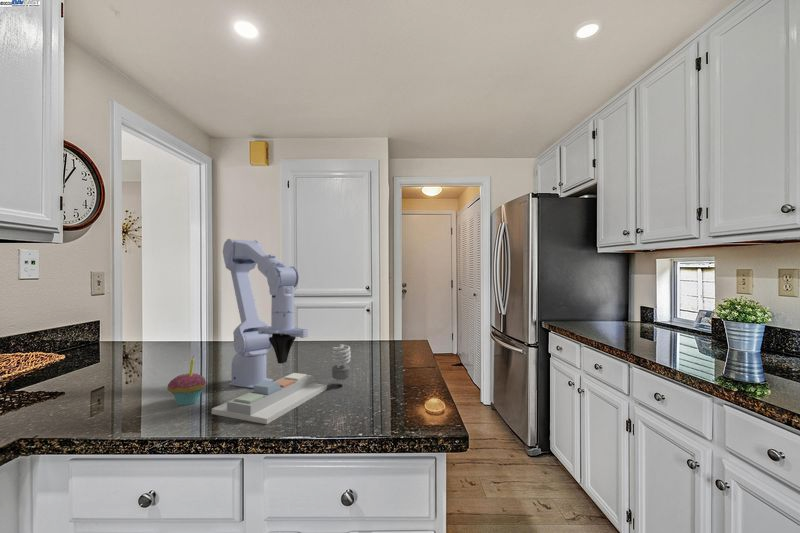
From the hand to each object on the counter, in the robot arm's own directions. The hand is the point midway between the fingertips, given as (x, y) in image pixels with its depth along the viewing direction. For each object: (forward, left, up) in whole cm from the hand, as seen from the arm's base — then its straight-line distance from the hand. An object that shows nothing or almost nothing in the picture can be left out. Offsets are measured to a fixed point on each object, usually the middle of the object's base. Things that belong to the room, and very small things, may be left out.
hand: (282, 362), depth 98 cm
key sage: (0, -12, -7) cm, 14 cm away
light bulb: (+10, +14, -9) cm, 20 cm away
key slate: (0, -6, -6) cm, 9 cm away
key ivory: (0, +6, -7) cm, 10 cm away
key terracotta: (0, 0, -7) cm, 7 cm away
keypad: (0, -3, -9) cm, 10 cm away
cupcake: (-20, -12, -9) cm, 25 cm away
